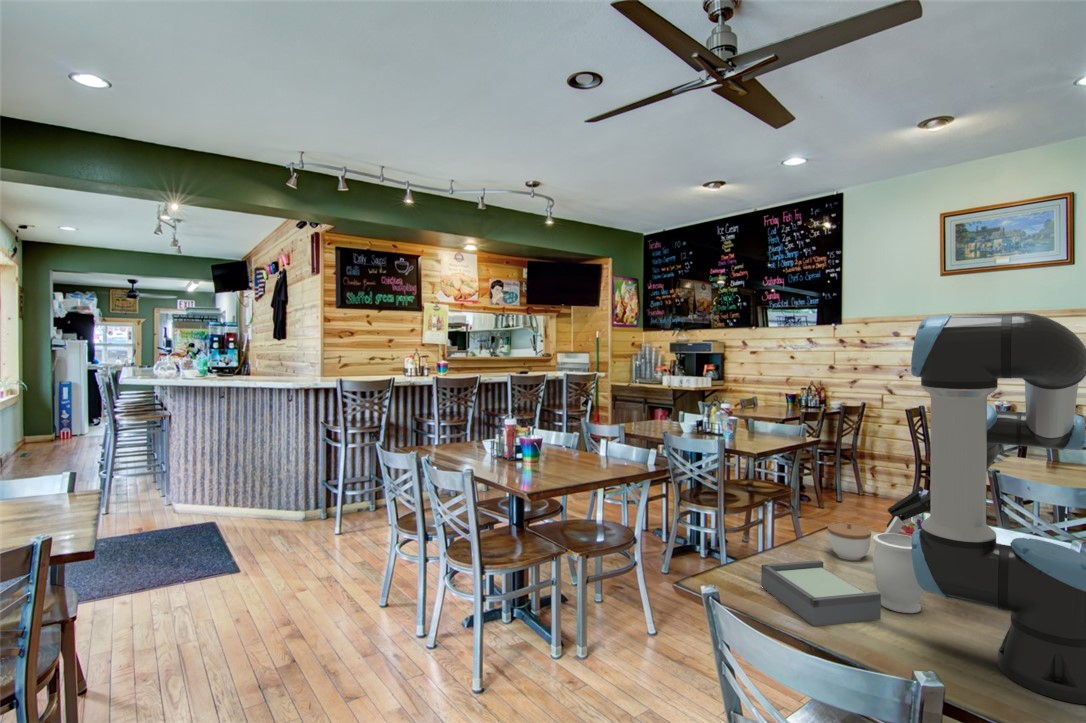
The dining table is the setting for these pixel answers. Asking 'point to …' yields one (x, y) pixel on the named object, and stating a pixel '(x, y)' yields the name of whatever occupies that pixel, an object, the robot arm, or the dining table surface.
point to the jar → (896, 573)
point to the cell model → (910, 527)
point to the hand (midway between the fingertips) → (912, 550)
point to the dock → (819, 593)
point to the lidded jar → (849, 540)
